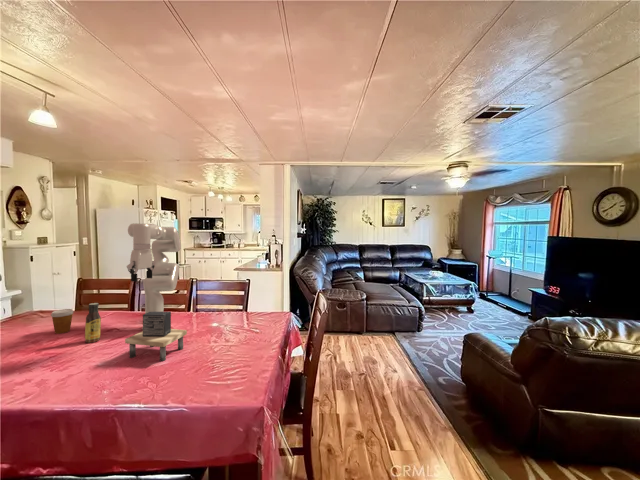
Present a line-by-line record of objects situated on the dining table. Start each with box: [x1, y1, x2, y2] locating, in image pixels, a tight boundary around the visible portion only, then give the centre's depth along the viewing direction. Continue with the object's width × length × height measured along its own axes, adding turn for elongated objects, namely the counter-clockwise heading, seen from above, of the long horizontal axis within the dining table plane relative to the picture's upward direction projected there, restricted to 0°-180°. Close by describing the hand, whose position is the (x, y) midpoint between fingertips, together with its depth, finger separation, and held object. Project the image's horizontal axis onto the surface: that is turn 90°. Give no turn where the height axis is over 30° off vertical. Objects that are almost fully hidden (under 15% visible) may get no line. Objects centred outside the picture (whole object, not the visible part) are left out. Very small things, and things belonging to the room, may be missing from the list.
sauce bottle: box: [84, 302, 102, 344], centre depth 143 cm, size 7×6×20 cm
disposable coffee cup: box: [50, 308, 75, 335], centre depth 155 cm, size 10×10×12 cm
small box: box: [142, 311, 172, 337], centre depth 131 cm, size 11×6×10 cm, turn 92°
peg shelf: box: [124, 328, 188, 362], centre depth 131 cm, size 16×20×9 cm
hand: (142, 279), depth 142 cm, fingers open, 9 cm apart
